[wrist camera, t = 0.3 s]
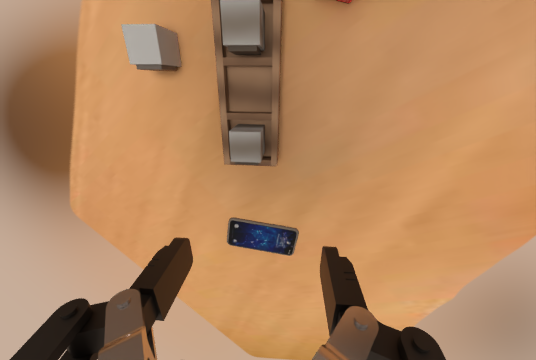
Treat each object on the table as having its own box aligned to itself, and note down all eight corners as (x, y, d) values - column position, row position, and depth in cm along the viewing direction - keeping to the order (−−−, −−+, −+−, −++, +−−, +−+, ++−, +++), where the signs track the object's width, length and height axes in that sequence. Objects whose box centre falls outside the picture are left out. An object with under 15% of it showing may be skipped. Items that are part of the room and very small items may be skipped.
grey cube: (148, 33, 33) (121, 24, 28) (177, 33, 33) (154, 23, 28) (155, 70, 36) (131, 69, 30) (182, 70, 35) (162, 69, 30)
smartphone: (228, 217, 46) (299, 230, 45) (229, 215, 47) (299, 227, 46) (226, 245, 49) (292, 257, 48) (227, 242, 50) (292, 254, 49)
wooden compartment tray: (218, -1, 31) (198, -24, 24) (282, -3, 30) (280, -27, 23) (229, 157, 41) (217, 173, 34) (277, 159, 40) (275, 175, 33)
